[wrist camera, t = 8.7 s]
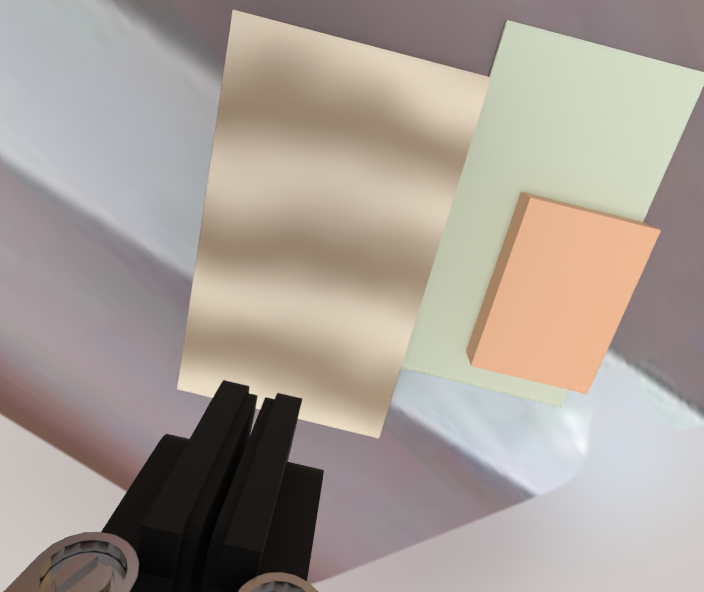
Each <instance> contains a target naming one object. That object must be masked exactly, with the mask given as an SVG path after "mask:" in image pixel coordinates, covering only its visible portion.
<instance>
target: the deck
mask: <svg viewBox="0 0 704 592" xmlns="http://www.w3.org/2000/svg"><path fill="white" fill-rule="evenodd" d="M490 80H491V77H487V76H483V75H479V74H476V73H472V72H468V71H464V70H460V69H457V68H453V67H449V66H445V65H441V64H438V63H434V62H430V61H426V60H422V59H419V58H415V57H411V56H407V55H404V54H400V53H396V52H392V51H388V50H385V49H381V48H377V47H373V46H369V45H366V44H362V43H358V42H354V41H350V40H347V39H343V38H339V37H335V36H331V35H328V34H324V33H320V32H316V31H312V30H309V29H305V28H301V27H297V26H293V25H290V24H286V23H282V22H278V21H274V20H271V19H267V18H263V17H259V16H255V15H252V14H248V13H244V12H240V11H237V10H233V12H232V19H231V26H230V33H229V39H228V46H227V53H226V60H225V67H224V74H223V80H222V87H221V94H220V101H219V108H218V114H217V121H216V128H215V135H214V142H213V148H212V155H211V162H210V169H209V176H208V183H207V189H206V196H205V203H204V210H203V217H202V223H201V230H200V237H199V244H198V251H197V258H196V264H195V271H194V278H193V285H192V292H191V298H190V305H189V312H188V319H187V326H186V332H185V339H184V346H183V353H182V360H181V367H180V373H179V380H178V387H177V389H179V390H183V391H187V392H191V393H195V394H199V395H203V396H207V397H211V398H213V397H214V395H215V393H216V391H217V390H218V388H219V386H220V384H221V383H222V381H223V380H226V381H230V382H234V383H239V384H243V385H247V386H249V387H250V388H249V393H250V394H254V395H257V396H258V397H257V403H256V409H261V407H262V404H263V402H264V399H265V397H267V398H271V399H275V397H276V394H277V393H281V394H285V395H290V396H294V397H298V398H302V403H301V407H300V411H299V416H298V419H301V420H305V421H309V422H314V423H318V424H322V425H326V426H330V427H334V428H338V429H342V430H346V431H350V432H354V433H359V434H363V435H367V436H371V437H375V438H379V437H380V434H381V430H382V427H383V424H384V421H385V418H386V414H387V411H388V408H389V405H390V401H391V398H392V395H393V392H394V389H395V385H396V382H397V379H398V376H399V373H400V369H401V366H402V363H403V360H404V357H405V353H406V350H407V347H408V344H409V340H410V337H411V334H412V331H413V328H414V324H415V321H416V318H417V315H418V312H419V308H420V305H421V302H422V299H423V296H424V292H425V289H426V286H427V283H428V279H429V276H430V273H431V270H432V267H433V263H434V260H435V257H436V254H437V251H438V247H439V244H440V241H441V238H442V235H443V231H444V228H445V225H446V222H447V218H448V215H449V212H450V209H451V206H452V202H453V199H454V196H455V193H456V190H457V186H458V183H459V180H460V177H461V174H462V170H463V167H464V164H465V161H466V157H467V154H468V151H469V148H470V145H471V141H472V138H473V135H474V132H475V129H476V125H477V122H478V119H479V116H480V113H481V109H482V106H483V103H484V100H485V96H486V93H487V90H488V87H489V84H490Z"/></svg>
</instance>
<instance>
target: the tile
mask: <svg viewBox="0 0 704 592" xmlns="http://www.w3.org/2000/svg"><path fill="white" fill-rule="evenodd" d="M660 231H661V230H659V229H657V228H655V227H653V226H651V225H649V224H646V223H644V222H641V221H637V220H633V219H629V218H625V217H621V216H617V215H613V214H609V213H605V212H601V211H597V210H593V209H589V208H585V207H581V206H577V205H573V204H569V203H565V202H561V201H557V200H553V199H549V198H545V197H541V196H537V195H533V194H529V193H525V192H521V194H520V197H519V200H518V203H517V205H516V208H515V211H514V214H513V217H512V220H511V223H510V226H509V228H508V231H507V234H506V237H505V240H504V243H503V246H502V249H501V252H500V254H499V257H498V260H497V263H496V266H495V269H494V272H493V275H492V278H491V280H490V283H489V286H488V289H487V292H486V295H485V298H484V301H483V304H482V306H481V309H480V312H479V315H478V318H477V321H476V324H475V327H474V330H473V332H472V335H471V338H470V341H469V344H468V347H467V350H466V352H467V355H468V359H469V362H470V365H471V366H473V367H477V368H481V369H485V370H489V371H493V372H497V373H502V374H506V375H510V376H514V377H518V378H522V379H526V380H531V381H535V382H539V383H543V384H547V385H551V386H555V387H560V388H564V389H568V390H572V391H576V392H580V393H584V394H588V391H589V389H590V387H591V385H592V383H593V380H594V378H595V376H596V374H597V371H598V369H599V367H600V365H601V363H602V360H603V358H604V356H605V354H606V351H607V349H608V347H609V345H610V343H611V340H612V338H613V336H614V334H615V331H616V329H617V327H618V325H619V323H620V320H621V318H622V316H623V314H624V311H625V309H626V307H627V305H628V303H629V300H630V298H631V296H632V294H633V291H634V289H635V287H636V285H637V283H638V280H639V278H640V276H641V274H642V271H643V269H644V267H645V265H646V263H647V260H648V258H649V256H650V254H651V251H652V249H653V247H654V245H655V243H656V240H657V238H658V236H659V234H660Z"/></svg>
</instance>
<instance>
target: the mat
mask: <svg viewBox="0 0 704 592" xmlns="http://www.w3.org/2000/svg"><path fill="white" fill-rule="evenodd" d="M489 77H491V80H490V84H489V87H488V90H487V93H486V96H485V100H484V103H483V106H482V109H481V113H480V116H479V119H478V122H477V125H476V129H475V132H474V135H473V138H472V141H471V145H470V148H469V151H468V154H467V157H466V161H465V164H464V167H463V170H462V174H461V177H460V180H459V183H458V186H457V190H456V193H455V196H454V199H453V202H452V206H451V209H450V212H449V215H448V218H447V222H446V225H445V228H444V231H443V235H442V238H441V241H440V244H439V247H438V251H437V254H436V257H435V260H434V263H433V267H432V270H431V273H430V276H429V279H428V283H427V286H426V289H425V292H424V296H423V299H422V302H421V305H420V308H419V312H418V315H417V318H416V321H415V324H414V328H413V331H412V334H411V337H410V340H409V344H408V347H407V350H406V353H405V357H404V360H403V363H402V366H401V368H405V369H409V370H413V371H417V372H421V373H425V374H429V375H433V376H437V377H441V378H445V379H449V380H453V381H457V382H461V383H465V384H469V385H473V386H477V387H481V388H485V389H489V390H493V391H497V392H501V393H505V394H509V395H513V396H517V397H521V398H526V399H530V400H534V401H538V402H542V403H546V404H550V405H554V406H558V407H561V406H562V403H563V401H564V399H565V397H566V394H567V392H568V389H564V388H560V387H555V386H551V385H547V384H543V383H539V382H535V381H531V380H526V379H522V378H518V377H514V376H510V375H506V374H502V373H497V372H493V371H489V370H485V369H481V368H477V367H473V366H471V365H470V362H469V359H468V355H467V352H466V350H467V347H468V344H469V341H470V338H471V335H472V332H473V330H474V327H475V324H476V321H477V318H478V315H479V312H480V309H481V306H482V304H483V301H484V298H485V295H486V292H487V289H488V286H489V283H490V280H491V278H492V275H493V272H494V269H495V266H496V263H497V260H498V257H499V254H500V252H501V249H502V246H503V243H504V240H505V237H506V234H507V231H508V228H509V226H510V223H511V220H512V217H513V214H514V211H515V208H516V205H517V203H518V200H519V197H520V194H521V192H525V193H529V194H533V195H537V196H541V197H545V198H549V199H553V200H557V201H561V202H565V203H569V204H573V205H577V206H581V207H585V208H589V209H593V210H597V211H601V212H605V213H609V214H613V215H617V216H621V217H625V218H629V219H633V220H637V221H641V222H643V221H644V218H645V216H646V214H647V212H648V209H649V207H650V205H651V203H652V200H653V198H654V196H655V194H656V191H657V189H658V187H659V185H660V182H661V180H662V178H663V176H664V173H665V171H666V169H667V167H668V164H669V162H670V160H671V158H672V155H673V153H674V151H675V149H676V146H677V144H678V142H679V140H680V137H681V135H682V133H683V131H684V128H685V126H686V124H687V122H688V119H689V117H690V115H691V113H692V110H693V108H694V106H695V104H696V101H697V99H698V97H699V95H700V92H701V90H702V88H703V86H704V72H700V71H697V70H693V69H689V68H685V67H682V66H678V65H674V64H670V63H667V62H663V61H659V60H655V59H652V58H648V57H644V56H640V55H637V54H633V53H629V52H625V51H622V50H618V49H614V48H610V47H607V46H603V45H599V44H595V43H592V42H588V41H584V40H580V39H577V38H573V37H569V36H565V35H562V34H558V33H554V32H550V31H547V30H543V29H539V28H535V27H532V26H528V25H524V24H520V23H517V22H513V21H509V20H507V21H506V22H505V25H504V28H503V32H502V35H501V38H500V41H499V45H498V48H497V51H496V54H495V58H494V61H493V64H492V67H491V70H490V74H489Z"/></svg>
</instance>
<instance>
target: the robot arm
mask: <svg viewBox="0 0 704 592" xmlns="http://www.w3.org/2000/svg"><path fill="white" fill-rule="evenodd" d="M249 388H250V387H249V386H247V385H243V384H239V383H234V382H230V381H226V380H223V381H222V383H221V384H220V386H219V388H218V390H217V391H216V393H215V395H214V397H213V399H212V400H211V402H210V404H209V406H208V407H207V409H206V411H205V413H204V415H203V416H202V418H201V420H200V422H199V424H198V425H197V427H196V429H195V431H194V432H193V434H192V436H191V438H190V439H187V438H182V437H178V436H174V435H169V434H166V435H164V436H163V437H162V439H161V440H160V441H159V443H158V445H157V446H156V448H155V449H154V451H153V452H152V454H151V455H150V457H149V458H148V460H147V462H146V463H145V465H144V466H143V468H142V469H141V471H140V472H139V474H138V476H137V477H136V479H135V480H134V482H133V483H132V485H131V486H130V488H129V490H128V491H127V493H126V494H125V496H124V497H123V499H122V500H121V502H120V504H119V505H118V507H117V508H116V510H115V511H114V513H113V514H112V516H111V518H110V519H109V521H108V522H107V524H106V526H105V527H104V528H103V530H102V531H101V532H85V533H81V534H77V535H73V536H69V537H66V538H64V539H63V540H60V541H58V542H56V543H54V544H52V545H51V546H50V547H49V548H47V549H46V550H45V551H44V552H42V553H41V554H40V555H39V556H38V557H37V558H36V559H35V560H34V561H33V562H32V563H31V564H30V565H29V566H28V567H27V568H26V569H25V570H24V571H23V572H22V573H21V574H20V576H19V577H17V578H16V580H14V581H13V582H12V584H11V585H10V586H9V587H8V588H7V589H6V590H5V591H4V592H318V591H317V590H316V589H315V588H314V587H313V586H312V585H311V584H310V583H309V582H307V577H308V571H309V564H310V558H311V551H312V545H313V538H314V532H315V525H316V519H317V513H318V506H319V500H320V493H321V487H322V480H323V473H324V470H321V469H317V468H312V467H308V466H304V465H299V464H295V463H291V462H288V458H289V453H290V449H291V445H292V441H293V437H294V432H295V428H296V424H297V420H298V416H299V411H300V407H301V403H302V398H298V397H294V396H290V395H285V394H281V393H277V394H276V397H275V399H271V398H267V397H265V399H264V402H263V404H262V407H261V409H260V412H259V414H258V417H257V420H256V422H255V425H254V427H253V430H252V432H251V428H252V423H253V418H254V413H255V408H256V403H257V397H258V396H257V395H254V394H250V393H249ZM250 433H251V435H250Z"/></svg>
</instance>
